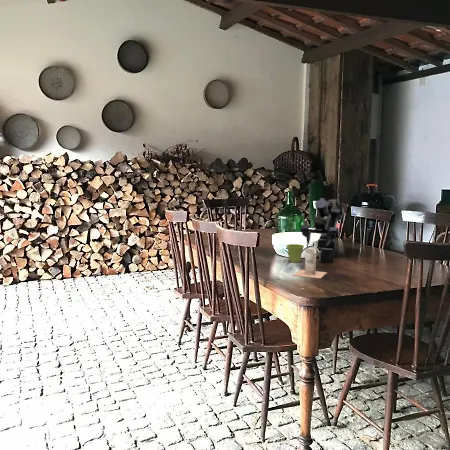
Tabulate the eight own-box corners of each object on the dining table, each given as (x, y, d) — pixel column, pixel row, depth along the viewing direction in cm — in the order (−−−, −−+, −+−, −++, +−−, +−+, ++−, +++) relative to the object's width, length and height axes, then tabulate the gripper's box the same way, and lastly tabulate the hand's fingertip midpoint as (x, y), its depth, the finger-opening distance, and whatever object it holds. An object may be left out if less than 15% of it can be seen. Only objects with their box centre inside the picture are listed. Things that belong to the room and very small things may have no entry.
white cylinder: (310, 272, 236) (311, 247, 234) (317, 274, 232) (318, 249, 230) (302, 273, 233) (303, 248, 232) (309, 275, 229) (310, 250, 228)
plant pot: (304, 263, 258) (304, 247, 257) (286, 263, 259) (286, 246, 258) (302, 259, 268) (303, 244, 266) (285, 259, 268) (285, 244, 267)
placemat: (300, 270, 241) (300, 269, 241) (326, 272, 236) (326, 272, 236) (293, 275, 229) (293, 275, 229) (320, 278, 224) (320, 277, 224)
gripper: (302, 209, 247) (295, 234, 239) (339, 211, 240) (333, 236, 231) (306, 223, 256) (299, 247, 247) (341, 225, 248) (336, 250, 239)
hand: (316, 245), depth 241 cm, fingers open, 9 cm apart
